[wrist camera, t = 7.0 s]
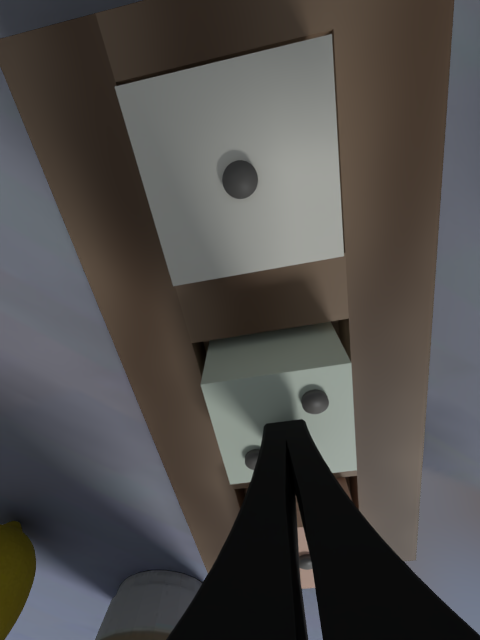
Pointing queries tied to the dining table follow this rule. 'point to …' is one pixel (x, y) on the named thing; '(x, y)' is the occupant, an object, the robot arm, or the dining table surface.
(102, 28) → the board
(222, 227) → the tile one pip
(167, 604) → the coffee cup
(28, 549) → the lemon
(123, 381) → the dining table surface
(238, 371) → the tile two pip
